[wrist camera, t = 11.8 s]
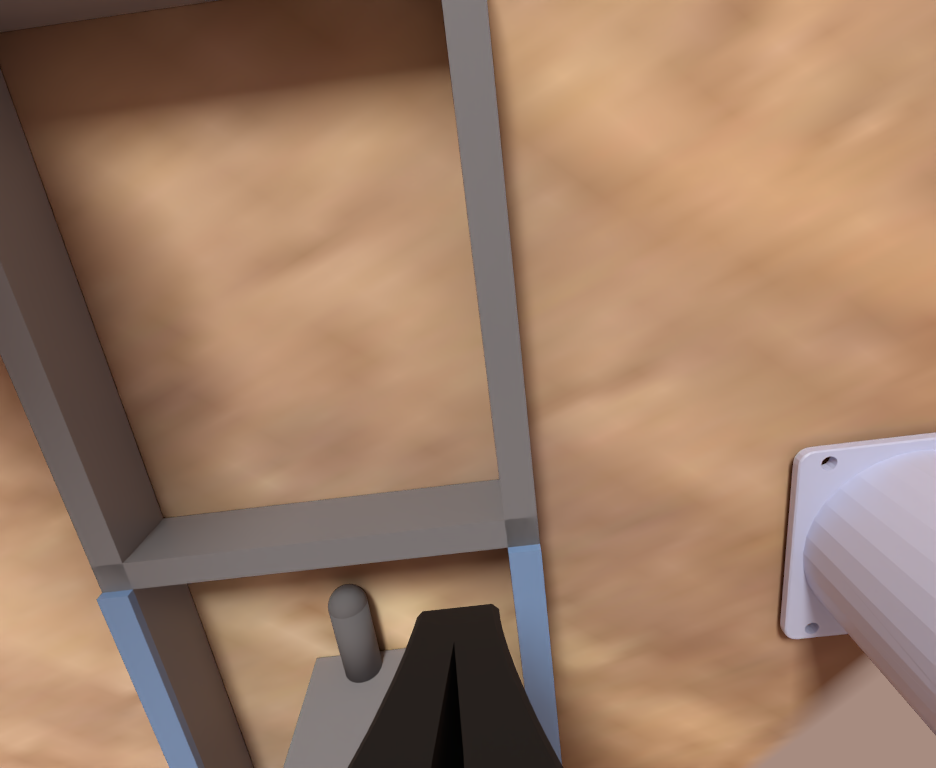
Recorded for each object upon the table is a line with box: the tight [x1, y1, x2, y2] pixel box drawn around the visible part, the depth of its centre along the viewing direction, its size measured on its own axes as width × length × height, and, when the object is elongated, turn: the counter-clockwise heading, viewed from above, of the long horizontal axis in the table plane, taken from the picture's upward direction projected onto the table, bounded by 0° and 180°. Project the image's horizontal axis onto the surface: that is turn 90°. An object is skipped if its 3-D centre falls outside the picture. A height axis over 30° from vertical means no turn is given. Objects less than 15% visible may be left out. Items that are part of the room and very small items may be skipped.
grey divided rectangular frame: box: [0, 0, 562, 768], centre depth 17 cm, size 14×34×5 cm, turn 7°
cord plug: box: [283, 584, 406, 768], centre depth 20 cm, size 4×11×5 cm, turn 8°
